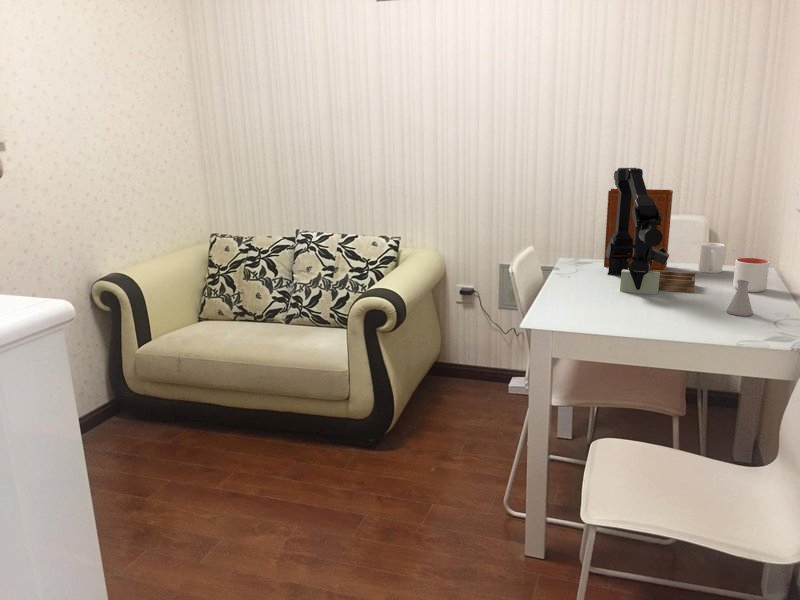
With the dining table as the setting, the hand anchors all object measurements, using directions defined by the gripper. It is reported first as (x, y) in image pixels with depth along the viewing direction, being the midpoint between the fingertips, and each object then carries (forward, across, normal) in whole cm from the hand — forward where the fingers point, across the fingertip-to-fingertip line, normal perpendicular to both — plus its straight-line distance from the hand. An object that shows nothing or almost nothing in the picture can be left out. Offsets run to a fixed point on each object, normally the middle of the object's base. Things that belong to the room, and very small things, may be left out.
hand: (639, 286), depth 226 cm
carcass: (+2, +10, -8) cm, 13 cm away
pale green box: (+2, 0, 0) cm, 2 cm away
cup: (+2, +15, -34) cm, 37 cm away
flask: (+2, -17, -30) cm, 35 cm away
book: (+2, +40, +5) cm, 40 cm away
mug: (+2, +39, -22) cm, 45 cm away
